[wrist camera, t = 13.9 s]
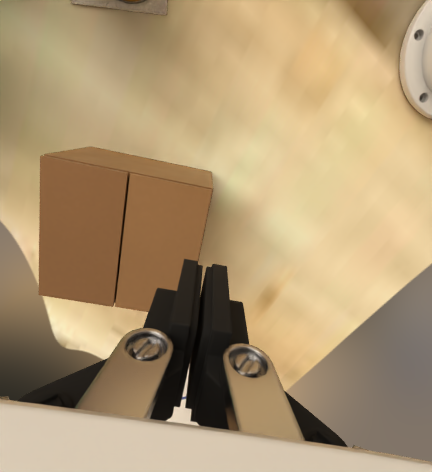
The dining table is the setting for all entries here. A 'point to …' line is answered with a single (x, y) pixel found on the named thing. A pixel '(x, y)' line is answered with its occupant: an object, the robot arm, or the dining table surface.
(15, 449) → the robot arm
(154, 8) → the condiment
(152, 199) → the flap
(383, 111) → the dining table surface
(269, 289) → the dining table surface
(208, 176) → the carton
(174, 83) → the dining table surface
